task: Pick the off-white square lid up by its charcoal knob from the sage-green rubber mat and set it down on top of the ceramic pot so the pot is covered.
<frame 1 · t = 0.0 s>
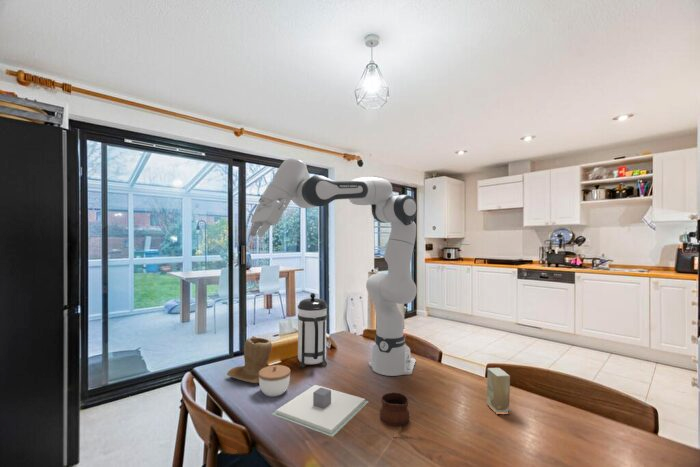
hand: (255, 235, 105), 54 cm above the table, tool tilted 30°, fingers open, 8 cm apart
mat: (322, 409, 102), on the table
skincare box: (498, 410, 102), on the table
lidded jar: (274, 394, 112), on the table
brown boot: (252, 378, 124), on the table
ceramic pot: (394, 422, 96), on the table
coffee press: (313, 364, 138), on the table
lid: (322, 407, 102), resting on mat
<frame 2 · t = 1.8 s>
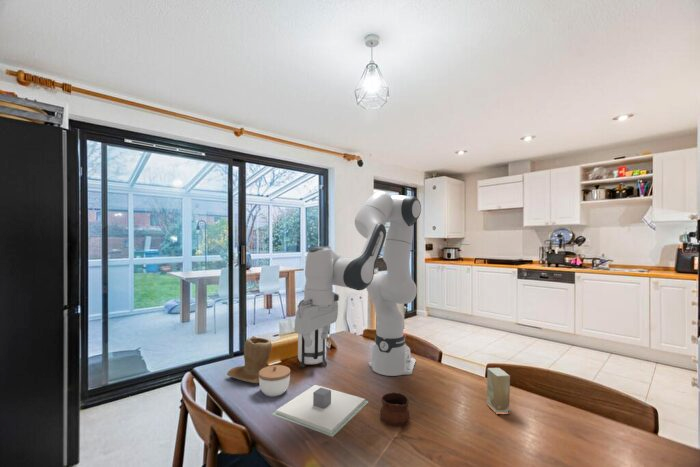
hand: (316, 342, 101), 21 cm above the table, tool pointing down, fingers open, 8 cm apart
nothing on the table moved.
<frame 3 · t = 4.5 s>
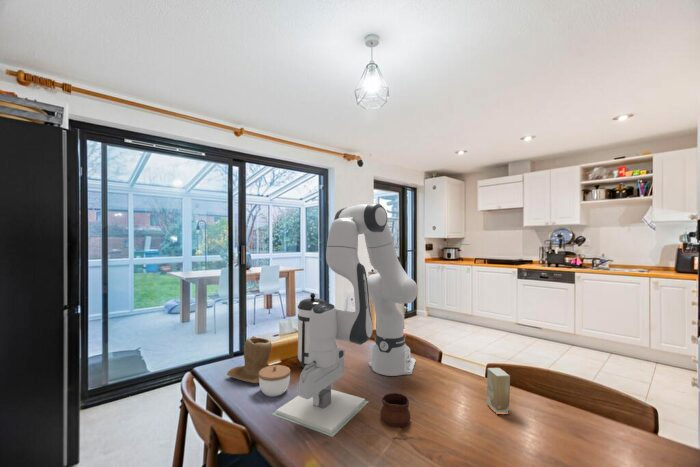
hand: (322, 400, 102), 3 cm above the table, tool pointing down, fingers closed on lid, 4 cm apart
lid: (322, 407, 102), resting on mat, touching gripper
everything else where it was.
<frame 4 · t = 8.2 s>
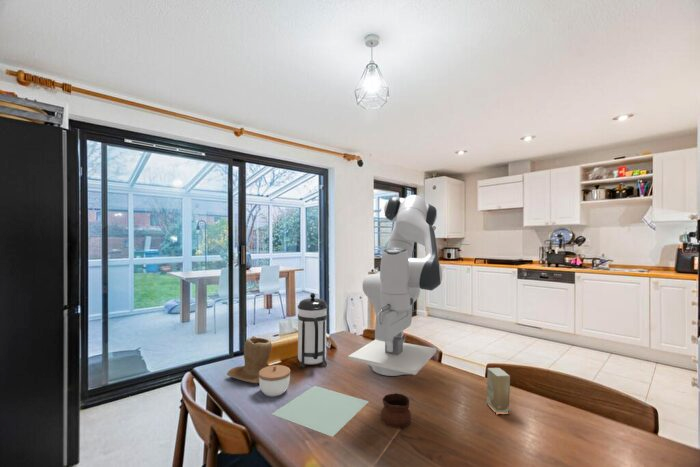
hand: (394, 348, 96), 21 cm above the table, tool pointing down, fingers closed on lid, 4 cm apart
lid: (393, 355, 96), point 19 cm above the table, touching gripper
when the fingers open (9 cm above the table, at t = 11.9 s): lid stays where it is, point 6 cm above the table.
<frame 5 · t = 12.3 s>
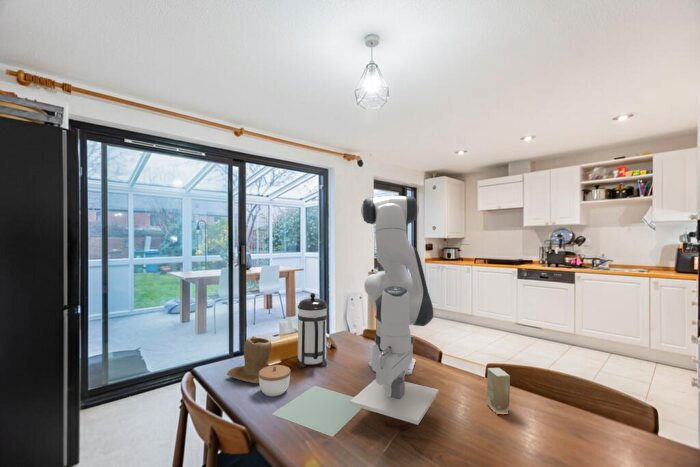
hand: (395, 389, 96), 9 cm above the table, tool pointing down, fingers open, 8 cm apart
lid: (395, 398, 96), point 6 cm above the table
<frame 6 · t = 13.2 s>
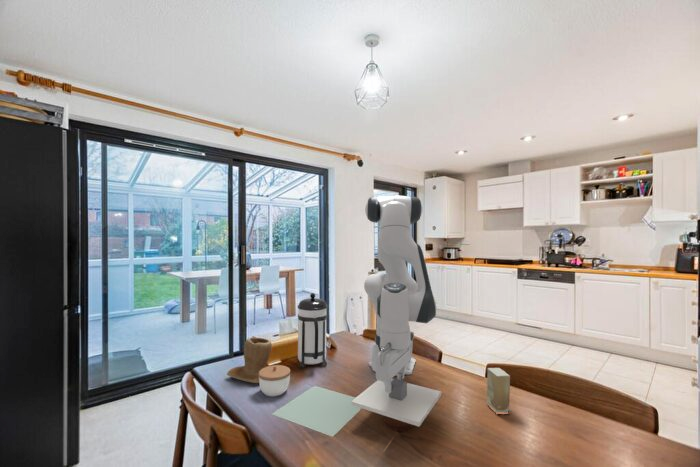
hand: (395, 385, 97), 10 cm above the table, tool pointing down, fingers open, 8 cm apart
ceramic pot: (398, 426, 94), on the table, touching lid
lid: (397, 399, 95), point 6 cm above the table, touching ceramic pot
everything else where it was.
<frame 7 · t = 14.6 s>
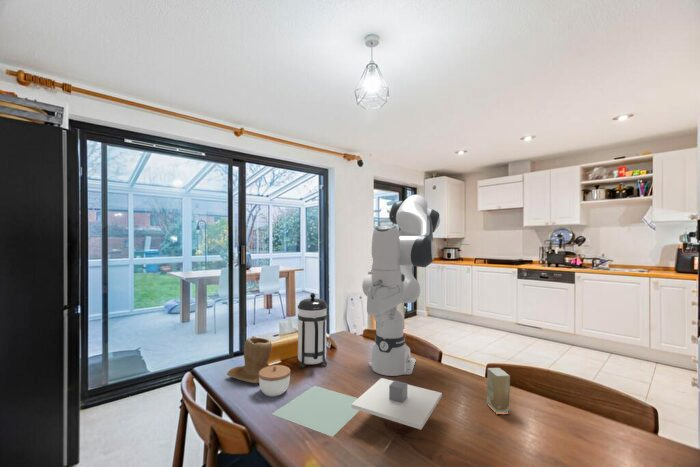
hand: (386, 323, 99), 28 cm above the table, tool pointing down, fingers open, 8 cm apart
lid: (398, 401, 94), point 6 cm above the table, touching ceramic pot
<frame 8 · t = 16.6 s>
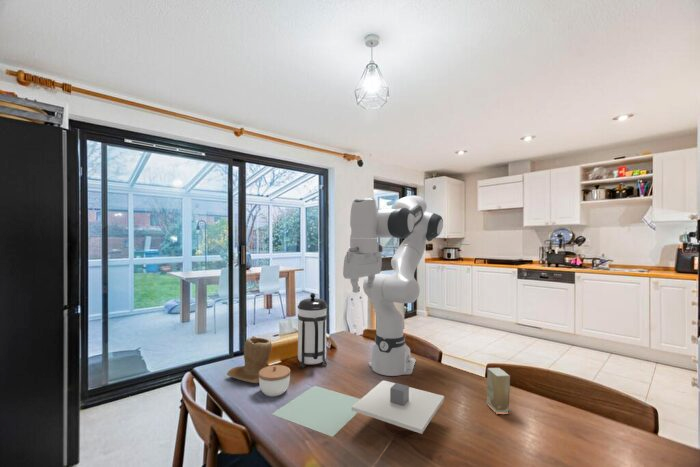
hand: (363, 290, 104), 37 cm above the table, tool pointing down, fingers open, 8 cm apart
ceramic pot: (400, 430, 92), on the table, touching lid
lid: (399, 404, 92), point 6 cm above the table, touching ceramic pot
everything else where it was.
at the end: lid inside the target area on the ceramic pot (0.4 cm from its centre), point 7.2 cm above the ceramic pot's base; lid point 6.4 cm above the table; the gripper is holding nothing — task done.
